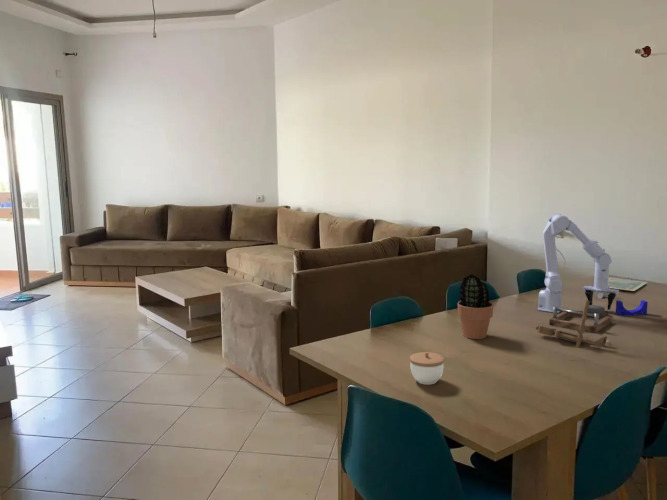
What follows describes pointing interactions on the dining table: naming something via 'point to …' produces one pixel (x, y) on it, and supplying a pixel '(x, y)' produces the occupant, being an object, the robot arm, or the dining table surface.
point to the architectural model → (601, 294)
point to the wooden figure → (572, 336)
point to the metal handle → (596, 316)
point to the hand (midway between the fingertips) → (599, 307)
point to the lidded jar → (426, 367)
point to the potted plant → (474, 308)
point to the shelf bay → (576, 326)
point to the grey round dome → (596, 310)
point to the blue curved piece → (638, 311)
